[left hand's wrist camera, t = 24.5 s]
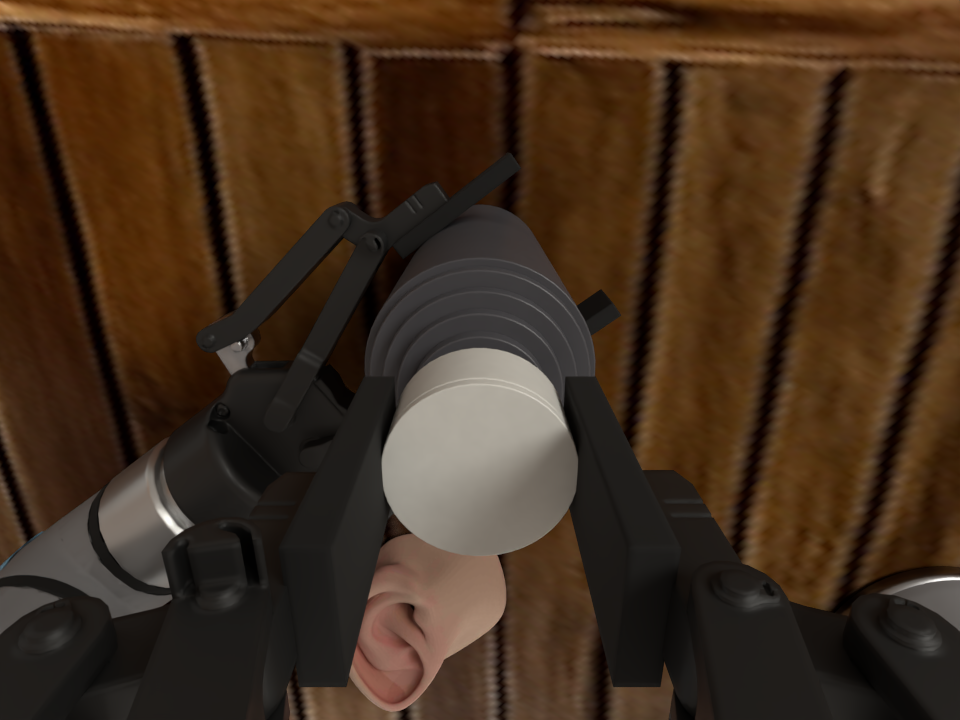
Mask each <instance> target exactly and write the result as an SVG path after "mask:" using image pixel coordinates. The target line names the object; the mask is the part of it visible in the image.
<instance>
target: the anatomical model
mask: <svg viewBox="0 0 960 720" xmlns="http://www.w3.org/2000/svg"><path fill="white" fill-rule="evenodd" d="M505 604H506V586H505V579H504V575H503V571H502V567H501V564H500V561H499V558H498V556H497V555H490V556H470V555H461V554H457V553H452V552H448V551H445V550H442V549H439V548H437V547H435V546H433V545H430V544H428V543H426V542H425V541H423V540H422V539H420V538H418V537H417V536H416V535H414V534H413V533H412V534H406V535H402V536H398V537H395V538H393V539H391V540H390V541H388V542H387V543H385V544H384V545H383V546H382V547H381V548H380V552H379V556H378V560H377V564H376V568H375V572H374V576H373V580H372V585H371V589H370V593H369V597H368V601H367V605H366V609H365V613H364V617H363V621H362V625H361V629H360V633H359V637H358V641H357V645H356V649H355V654H354V658H353V662H352V666H351V670H350V674H349V676H350V678H351V679H352V681H353V682H354V684H355V685H356V686H357V688H358V689H359V690H360V691H361V692H362V693H363V694H364V695H365V696H366V697H367V698H368V699H369V700H370V701H371V702H373V703H374V704H375V705H376V706H378V707H380V708H381V709H384V710H386V711H399V710H402V709H404V708H406V707H408V706H409V705H410V704H412V703H413V702H414V701H415V700H416V699H417V698H418V697H419V696H420V695H421V694H422V693H423V692H424V691H425V689H426V688H427V687H428V686H429V684H430V683H431V681H432V680H433V679H434V677H435V675H436V674H437V672H438V670H439V668H440V667H441V665H442V663H443V660H444V659H446V658H447V657H449V656H451V655H453V654H454V653H456V652H458V651H459V650H461V649H462V648H464V647H466V646H467V645H469V644H470V643H472V642H473V641H475V640H476V639H478V638H479V637H481V636H482V635H483V634H485V633H486V632H487V631H489V630H490V629H491V628H492V627H493V626H494V625H495V624H496V623H497V622H498V620H499V619H500V618H501V616H502V614H503V612H504V608H505Z"/></svg>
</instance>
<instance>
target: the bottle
mask: <svg viewBox="0 0 960 720" xmlns="http://www.w3.org/2000/svg"><path fill="white" fill-rule="evenodd" d="M470 348H489V349H497V350H501V351H505V352H509V353H512V354H514V355H517V356H519V357H521V358H523V359H525V360H527V361H528V362H530V363H531V364H533V365H534V366H535V367H537V368H538V369H539V370H540V371H541V372H542V373H543V374H544V375H545V376H546V377H547V378H548V379H549V380H550V382H551V383H552V384H553V386H554V388H555V389H556V391H557V393H558V395H559V397H560V400H561V402H562V405H563V408H564V391H565V376H595V354H594V346H593V342H592V338H591V334H590V331H589V329H588V326H587V324H586V322H585V319H584V318H583V316H582V314H581V313H580V311H579V309H578V308H577V306H576V304H575V303H574V301H573V299H572V298H571V296H570V294H569V293H568V291H567V289H566V288H565V286H564V284H563V283H562V281H561V279H560V278H559V276H558V274H557V273H556V271H555V269H554V268H553V266H552V265H551V263H550V261H549V260H548V258H547V256H546V255H545V253H544V251H543V250H542V248H541V246H540V245H539V243H538V241H537V240H536V238H535V236H534V235H533V233H532V231H531V230H530V229H529V228H528V226H527V225H526V224H525V223H524V222H523V221H522V220H521V219H519V218H518V217H517V216H515V215H514V214H512V213H510V212H508V211H506V210H504V209H501V208H499V207H495V206H490V205H473V206H471V207H470V208H469V209H468V210H466V211H465V212H464V213H462V214H461V215H460V216H458V217H457V218H456V219H455V220H453V221H452V222H451V223H449V224H448V225H447V226H446V227H444V228H443V229H442V230H440V231H439V232H438V233H436V234H435V235H434V236H433V237H431V238H430V239H429V240H427V241H426V242H425V243H423V244H422V245H421V246H420V247H419V248H418V249H417V251H416V253H415V254H414V256H413V257H412V259H411V261H410V262H409V264H408V266H407V267H406V269H405V271H404V272H403V274H402V276H401V277H400V279H399V280H398V282H397V284H396V285H395V287H394V289H393V290H392V292H391V294H390V295H389V297H388V299H387V300H386V302H385V303H384V305H383V307H382V308H381V310H380V312H379V313H378V315H377V317H376V319H375V321H374V323H373V326H372V328H371V331H370V334H369V337H368V340H367V345H366V352H365V376H394V380H395V397H396V407H397V404H398V401H399V399H400V396H401V394H402V392H403V390H404V389H405V387H406V385H407V384H408V383H409V381H410V380H411V379H412V377H413V376H414V375H415V374H416V373H417V372H418V371H419V370H420V369H422V368H423V367H424V366H426V365H427V364H428V363H430V362H431V361H433V360H435V359H437V358H439V357H440V356H443V355H446V354H448V353H451V352H454V351H458V350H462V349H470Z"/></svg>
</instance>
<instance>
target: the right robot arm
mask: <svg viewBox="0 0 960 720" xmlns="http://www.w3.org/2000/svg"><path fill="white" fill-rule="evenodd" d="M520 169H521V168H520V166H519V165H518V163H517V162H516V160H515V159H514V157H513V156H512V154H511V153H507V154H506V155H504V156H503V157H502V158H500V159H499V160H498V161H497V162H495V163H494V164H493V165H491V166H490V167H489V168H488V169H486V170H485V171H484V172H482V173H481V174H480V175H479V176H477V177H476V178H475V179H474V180H472V181H471V182H470V183H468V184H467V185H466V186H465V187H463V188H462V189H461V190H459V191H458V192H457V193H456V194H454V195H453V196H452V197H451V198H449V196H448V195H447V194H446V192H445V191H444V190H443V188H442V187H441V186H440V184H439V183H438V181H437V182H433V183H430V184H426V185H425V186H423V187H422V188H421V189H420V190H418V191H417V192H416V193H415V194H413V195H412V196H411V197H410V198H408V199H407V200H406V201H405V202H403V203H402V204H401V205H400V206H398V207H397V208H396V209H395V210H393V211H392V212H391V213H390V214H388V215H387V216H385V217H383V218H373V217H371V216H369V215H367V214H365V213H364V212H362V211H361V210H359V209H358V208H357V206H356V205H355V204H353V203H352V202H347V201H346V202H342V203H339V204H337V205H334V206H332V207H329V208H328V209H327V210H325V211H324V213H323V214H322V215H321V216H320V217H319V218H318V219H317V220H316V221H315V223H314V224H313V225H312V226H311V227H310V228H309V229H308V230H307V232H306V233H305V234H304V235H303V236H302V237H301V238H300V239H299V241H298V242H297V243H296V244H295V245H294V246H293V247H292V248H291V250H290V251H289V252H288V253H287V254H286V255H285V256H284V257H283V259H282V260H281V261H280V262H279V263H278V264H277V265H276V266H275V267H274V269H273V270H272V271H271V272H270V273H269V274H268V275H267V276H266V278H265V279H264V280H263V281H262V282H261V283H260V284H259V285H258V287H257V288H256V289H255V290H254V291H253V292H252V293H251V294H250V296H249V297H248V298H247V299H246V300H245V301H244V302H243V303H242V305H241V306H240V307H239V308H238V309H236V310H234V311H232V312H230V313H228V314H226V315H224V316H222V317H221V318H219V319H218V320H216V321H215V322H213V323H212V324H210V325H209V326H207V327H205V328H204V329H202V330H201V331H200V332H199V333H198V334H197V336H196V342H197V344H198V346H199V347H200V348H201V349H202V350H203V351H205V352H209V353H213V352H216V353H217V354H218V356H219V357H220V359H221V360H222V362H223V363H224V365H225V366H226V368H227V369H228V371H229V372H230V374H231V377H230V378H229V380H228V382H227V386H226V389H225V391H224V393H223V394H222V395H220V396H219V397H218V398H216V399H215V400H214V401H212V402H211V403H210V404H209V405H207V406H206V407H205V408H203V409H202V410H201V411H200V412H198V413H197V414H196V415H194V416H193V417H192V418H191V419H189V420H188V421H187V422H185V423H184V424H183V425H182V426H180V427H179V428H178V429H176V430H175V431H174V432H173V433H172V434H171V436H170V437H168V438H165V439H163V440H162V441H161V442H160V443H158V444H157V445H156V446H154V447H153V448H152V449H150V450H149V451H148V452H147V453H145V454H144V455H143V456H141V457H140V458H139V459H137V460H136V461H135V462H134V463H132V464H131V465H130V466H128V467H127V468H126V469H124V470H123V471H122V472H121V473H119V474H118V475H117V476H115V477H114V478H113V479H112V480H111V481H110V482H109V483H108V484H106V485H105V486H104V487H103V488H102V489H101V490H100V491H99V492H97V493H96V494H94V495H93V496H92V497H90V498H89V499H88V500H86V501H85V502H83V503H82V504H81V505H79V506H78V507H77V508H75V509H74V510H72V511H71V512H70V513H68V514H67V515H66V516H64V517H63V518H61V519H60V520H59V521H57V522H56V523H55V524H54V525H52V526H51V527H50V528H48V529H47V530H46V531H44V532H41V533H39V534H37V535H36V536H34V537H33V538H32V539H31V540H29V541H28V542H27V543H25V544H24V545H23V546H22V547H20V548H19V549H18V550H17V551H16V552H15V553H14V554H12V555H11V556H10V557H9V558H8V559H7V560H6V561H5V562H4V563H3V564H2V565H1V566H0V634H1V633H2V632H3V631H4V630H6V629H7V628H8V627H9V626H11V625H12V624H13V623H14V622H16V621H17V620H18V619H19V618H21V617H22V616H24V615H26V614H28V613H29V612H31V611H33V610H35V609H37V608H39V607H41V606H43V605H45V604H48V603H51V602H54V601H57V600H60V599H63V598H67V597H76V596H84V595H86V596H91V597H96V598H100V599H101V600H102V601H104V602H105V603H106V604H107V605H108V606H109V610H110V613H111V617H112V618H116V617H120V616H125V615H129V614H133V613H138V612H142V611H146V610H150V609H154V608H158V607H161V606H163V605H164V604H166V603H167V602H169V601H170V600H172V595H171V591H170V587H169V582H168V578H167V574H166V570H165V566H164V562H163V557H162V553H161V552H162V550H163V549H164V548H165V546H166V545H167V544H168V542H169V541H170V540H171V539H172V538H174V537H175V536H176V535H178V534H179V533H181V532H182V531H183V530H185V529H187V528H189V527H192V526H194V525H196V524H198V523H201V522H203V521H208V520H212V519H216V518H221V517H240V518H243V519H247V520H248V519H249V515H250V513H251V512H252V510H253V509H254V507H255V506H257V502H258V501H259V499H260V497H261V496H262V494H263V492H264V491H265V489H266V488H267V486H268V485H270V484H271V483H272V482H274V481H275V480H276V479H278V478H279V477H280V476H282V475H283V474H284V473H286V472H317V470H318V468H319V466H320V464H321V462H322V460H323V458H324V456H325V454H326V452H327V450H328V448H329V446H330V444H331V442H332V440H333V438H334V436H335V434H336V432H337V430H338V428H339V426H340V424H341V422H342V420H343V418H344V416H345V414H346V412H347V410H348V408H349V406H350V404H351V402H352V400H353V398H354V396H355V393H353V392H352V391H350V390H349V389H347V388H346V386H345V385H344V383H343V381H342V379H341V377H340V375H339V374H338V373H337V371H336V370H335V369H334V368H333V367H332V366H331V365H330V364H329V365H328V366H325V365H326V363H327V361H328V359H329V357H330V356H331V354H332V352H333V350H334V348H335V346H336V344H337V342H338V340H339V339H340V337H341V335H342V333H343V331H344V330H345V328H346V326H347V324H348V322H349V321H350V319H351V317H352V315H353V313H354V312H355V310H356V308H357V306H358V304H359V303H360V301H361V299H362V297H363V295H364V294H365V292H366V290H367V288H368V286H369V285H370V283H371V281H372V279H373V277H374V276H375V274H376V272H377V270H378V268H379V267H380V265H381V263H382V261H383V259H384V258H385V256H386V254H387V252H388V250H389V249H390V248H391V247H392V246H393V247H394V249H395V250H396V251H397V252H398V254H399V255H400V256H401V257H402V259H404V258H405V257H407V256H408V255H409V254H410V253H412V252H413V251H414V250H416V249H417V248H418V247H420V246H421V245H422V244H423V243H425V242H426V241H427V240H429V239H430V238H431V237H433V236H434V235H435V234H436V233H438V232H439V231H440V230H442V229H443V228H444V227H446V226H447V225H448V224H449V223H451V222H452V221H453V220H455V219H456V218H457V217H458V216H460V215H461V214H462V213H464V212H465V211H466V210H468V209H469V208H470V207H471V206H473V205H474V204H475V203H477V202H478V201H479V200H481V199H482V198H483V197H484V196H486V195H487V194H488V193H490V192H491V191H492V190H494V189H495V188H496V187H497V186H499V185H500V184H501V183H503V182H504V181H505V180H507V179H508V178H509V177H510V176H512V175H513V174H514V173H516V172H517V171H518V170H520ZM343 238H345V239H347V240H348V241H350V242H352V243H353V244H355V245H356V248H355V250H354V252H353V254H352V256H351V257H350V259H349V261H348V263H347V265H346V267H345V269H344V271H343V272H342V274H341V276H340V278H339V280H338V282H337V284H336V286H335V287H334V289H333V291H332V293H331V295H330V297H329V299H328V300H327V302H326V304H325V306H324V308H323V310H322V312H321V314H320V315H319V317H318V319H317V321H316V323H315V325H314V327H313V328H312V330H311V332H310V334H309V336H308V338H307V340H306V342H305V343H304V345H303V347H302V349H301V350H300V352H299V353H298V355H297V356H296V358H295V360H294V361H254V359H253V357H252V352H253V349H254V348H255V347H256V346H257V345H258V344H259V343H260V340H261V335H260V331H259V329H258V327H259V326H260V325H262V324H263V323H264V322H265V321H266V320H268V319H269V318H270V317H271V316H272V315H273V314H274V313H275V312H276V311H277V310H278V309H279V308H280V307H281V306H282V305H283V303H284V302H285V301H286V300H287V299H288V298H289V297H290V296H291V295H292V294H293V293H294V292H295V290H296V289H297V288H298V287H299V286H300V285H301V284H302V283H303V282H304V281H305V280H306V278H307V277H308V276H309V275H310V274H311V273H312V272H313V271H314V270H315V269H316V268H317V266H318V265H319V264H320V263H321V262H322V261H323V260H324V259H325V258H326V257H327V256H328V254H329V253H330V252H331V251H332V250H333V249H334V248H335V247H336V246H337V245H338V244H339V242H340V241H341V240H342V239H343ZM577 308H578V309H579V311H580V313H581V314H582V316H583V318H584V319H585V322H586V324H587V326H588V329H589V331H590V334H591V335H593V334H594V333H596V332H597V331H599V330H600V329H602V328H603V327H605V326H606V325H608V324H609V323H611V322H612V321H614V320H615V319H617V318H618V317H620V316H621V314H620V313H619V311H618V310H617V308H616V307H615V305H614V304H613V303H612V301H611V300H610V299H609V298H608V297H607V296H606V294H605V293H604V292H603V291H602V290H599V291H598V292H596V293H595V294H593V295H592V296H590V297H589V298H587V299H586V300H585V301H583V302H582V303H580V304H579V305H577ZM392 514H393V511H392V509H391V507H390V511H389V515H388V518H389V517H390V516H391V515H392Z"/></svg>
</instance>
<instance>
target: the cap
mask: <svg viewBox="0 0 960 720" xmlns="http://www.w3.org/2000/svg"><path fill="white" fill-rule="evenodd" d="M381 461H382V477H383V490H384V494H385V496H386V499H387V502H388V504H389V505H390V507H391V509H392V511H393V513H394V514H395V515H396V516H397V518H398V519H399V520H400V522H401V523H402V524H403V525H404V526H405V527H406V528H407V529H408V530H409V531H411V532H412V533H413V534H414V535H416V536H417V537H418V538H420V539H422V540H423V541H425V542H426V543H428V544H430V545H433V546H435V547H437V548H439V549H442V550H445V551H448V552H452V553H457V554H461V555H470V556H490V555H499V554H503V553H508V552H511V551H514V550H517V549H520V548H523V547H525V546H527V545H529V544H531V543H533V542H535V541H536V540H538V539H540V538H541V537H543V536H544V535H545V534H547V533H548V532H549V531H550V530H551V529H552V528H553V527H554V526H555V525H556V524H557V523H558V522H559V521H560V520H561V519H562V517H563V516H564V515H565V513H566V512H567V510H568V508H569V506H570V505H571V503H572V501H573V498H574V495H575V493H576V485H577V472H578V454H577V450H576V446H575V443H574V440H573V437H572V433H571V430H570V427H569V424H568V421H567V418H566V414H565V411H564V408H563V405H562V402H561V400H560V397H559V395H558V393H557V391H556V389H555V388H554V386H553V384H552V383H551V382H550V380H549V379H548V378H547V377H546V376H545V375H544V374H543V373H542V372H541V371H540V370H539V369H538V368H537V367H535V366H534V365H533V364H531V363H530V362H528V361H527V360H525V359H523V358H521V357H519V356H517V355H514V354H512V353H509V352H505V351H501V350H497V349H489V348H470V349H462V350H458V351H454V352H451V353H448V354H446V355H443V356H440V357H439V358H437V359H435V360H433V361H431V362H430V363H428V364H427V365H426V366H424V367H423V368H422V369H420V370H419V371H418V372H417V373H416V374H415V375H414V376H413V377H412V379H411V380H410V381H409V383H408V384H407V385H406V387H405V389H404V390H403V392H402V394H401V396H400V399H399V401H398V404H397V407H396V410H395V413H394V416H393V420H392V423H391V426H390V429H389V432H388V435H387V438H386V441H385V445H384V448H383V452H382V457H381Z"/></svg>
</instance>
